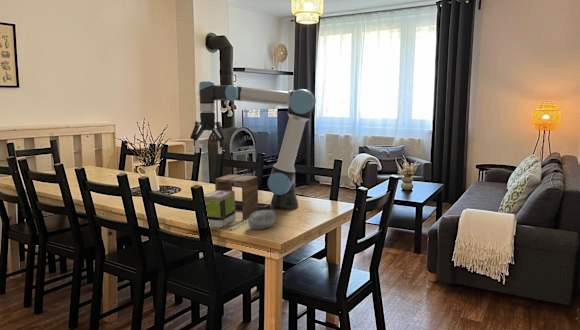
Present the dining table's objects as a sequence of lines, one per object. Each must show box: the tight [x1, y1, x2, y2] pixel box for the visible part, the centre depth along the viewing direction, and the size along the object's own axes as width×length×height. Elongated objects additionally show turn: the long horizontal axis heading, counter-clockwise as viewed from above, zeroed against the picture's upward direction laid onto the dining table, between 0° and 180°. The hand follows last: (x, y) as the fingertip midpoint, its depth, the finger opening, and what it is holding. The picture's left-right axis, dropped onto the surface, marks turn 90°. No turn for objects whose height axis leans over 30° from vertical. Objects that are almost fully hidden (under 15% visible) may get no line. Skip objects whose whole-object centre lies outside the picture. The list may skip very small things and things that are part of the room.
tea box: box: [203, 190, 237, 228], centre depth 214 cm, size 15×10×15 cm
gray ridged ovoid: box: [247, 209, 277, 231], centre depth 207 cm, size 14×10×10 cm
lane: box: [190, 219, 249, 230], centre depth 215 cm, size 23×16×1 cm
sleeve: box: [214, 174, 259, 221], centre depth 228 cm, size 16×14×19 cm
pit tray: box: [235, 199, 272, 211], centre depth 241 cm, size 22×7×3 cm, turn 66°
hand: (208, 153), depth 234 cm, fingers open, 13 cm apart
